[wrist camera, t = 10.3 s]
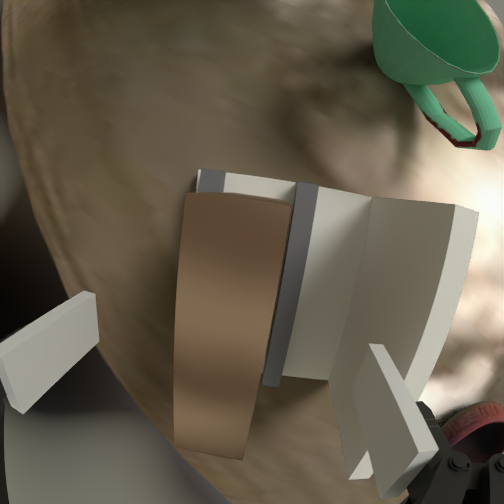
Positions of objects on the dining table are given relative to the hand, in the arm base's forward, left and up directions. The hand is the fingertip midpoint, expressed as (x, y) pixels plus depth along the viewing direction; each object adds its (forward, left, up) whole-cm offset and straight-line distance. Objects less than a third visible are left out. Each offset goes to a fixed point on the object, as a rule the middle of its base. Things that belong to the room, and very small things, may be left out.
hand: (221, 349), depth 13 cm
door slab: (0, 0, -12) cm, 12 cm away
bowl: (+16, +33, -13) cm, 39 cm away
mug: (-20, +12, -13) cm, 26 cm away
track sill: (0, +3, -13) cm, 13 cm away
